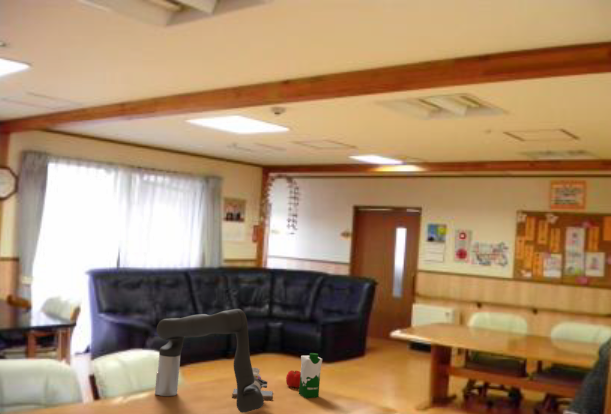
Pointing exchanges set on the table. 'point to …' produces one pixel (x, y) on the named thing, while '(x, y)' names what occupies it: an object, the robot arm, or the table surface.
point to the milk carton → (310, 376)
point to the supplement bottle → (256, 373)
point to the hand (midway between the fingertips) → (253, 378)
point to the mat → (261, 392)
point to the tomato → (293, 379)
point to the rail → (266, 397)
